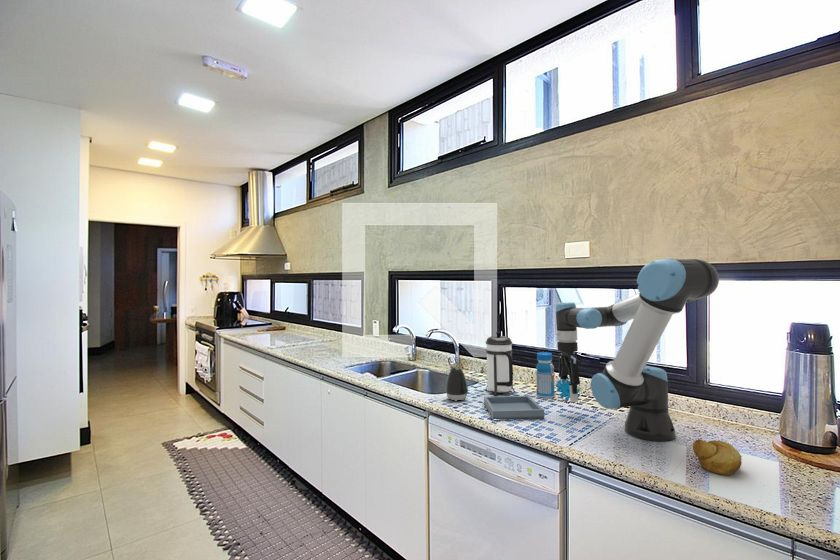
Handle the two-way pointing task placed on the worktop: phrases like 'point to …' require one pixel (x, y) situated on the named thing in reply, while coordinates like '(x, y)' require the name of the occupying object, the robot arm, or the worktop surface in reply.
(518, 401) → the tray
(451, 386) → the pump dispenser
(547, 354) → the beverage bottle
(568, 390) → the gear
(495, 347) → the coffee press
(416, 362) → the worktop surface
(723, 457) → the bread roll
